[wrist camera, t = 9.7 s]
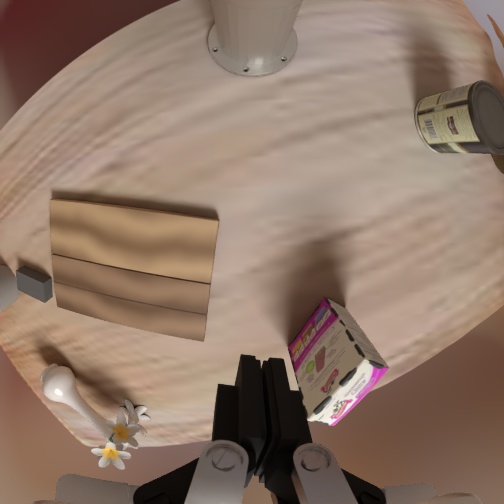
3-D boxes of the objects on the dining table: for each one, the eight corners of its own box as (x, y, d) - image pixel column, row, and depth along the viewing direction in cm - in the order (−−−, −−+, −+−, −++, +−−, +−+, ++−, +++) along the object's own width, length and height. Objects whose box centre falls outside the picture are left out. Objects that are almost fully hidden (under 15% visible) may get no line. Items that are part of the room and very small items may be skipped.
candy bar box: (310, 357, 45) (333, 427, 29) (286, 347, 44) (304, 421, 28) (348, 307, 42) (392, 369, 26) (325, 294, 41) (364, 358, 25)
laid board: (56, 251, 38) (51, 254, 36) (211, 280, 40) (210, 285, 38) (61, 303, 40) (57, 306, 39) (204, 336, 43) (203, 341, 41)
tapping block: (26, 283, 40) (17, 289, 37) (25, 265, 38) (15, 270, 36) (53, 296, 40) (44, 302, 37) (52, 277, 39) (43, 283, 36)
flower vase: (76, 363, 53) (154, 429, 51) (28, 403, 36) (114, 481, 34) (77, 334, 47) (167, 410, 45) (18, 378, 30) (119, 475, 29)
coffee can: (463, 130, 34) (518, 127, 20) (440, 166, 36) (500, 171, 22) (430, 85, 32) (484, 67, 18) (404, 119, 34) (463, 105, 20)
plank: (54, 198, 35) (49, 199, 33) (219, 219, 37) (218, 221, 36) (56, 250, 38) (51, 252, 36) (211, 279, 40) (210, 283, 38)
